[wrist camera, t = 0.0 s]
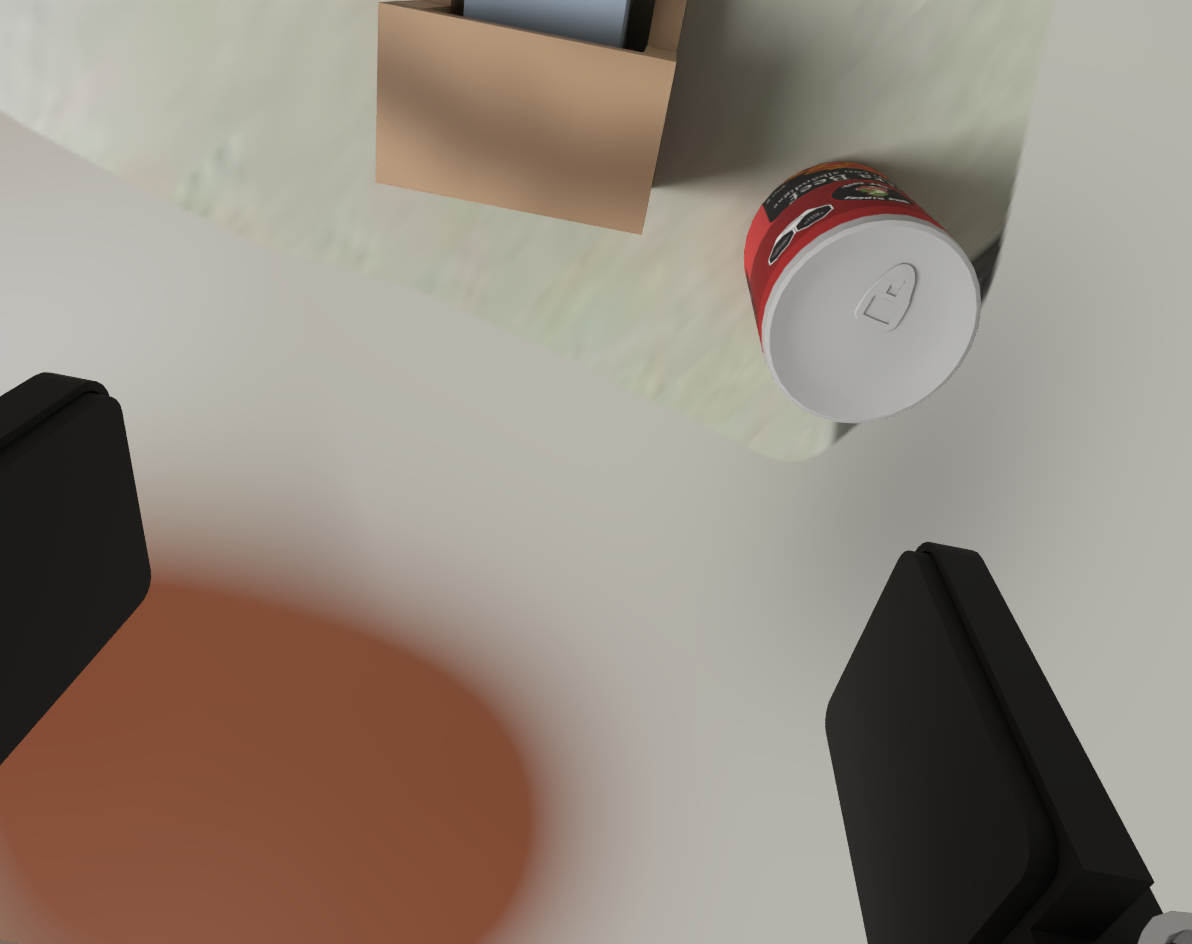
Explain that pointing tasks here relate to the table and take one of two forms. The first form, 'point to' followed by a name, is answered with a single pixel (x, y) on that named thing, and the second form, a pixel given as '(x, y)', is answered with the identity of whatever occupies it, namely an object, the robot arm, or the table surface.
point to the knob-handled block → (560, 17)
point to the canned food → (857, 294)
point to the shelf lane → (522, 113)
